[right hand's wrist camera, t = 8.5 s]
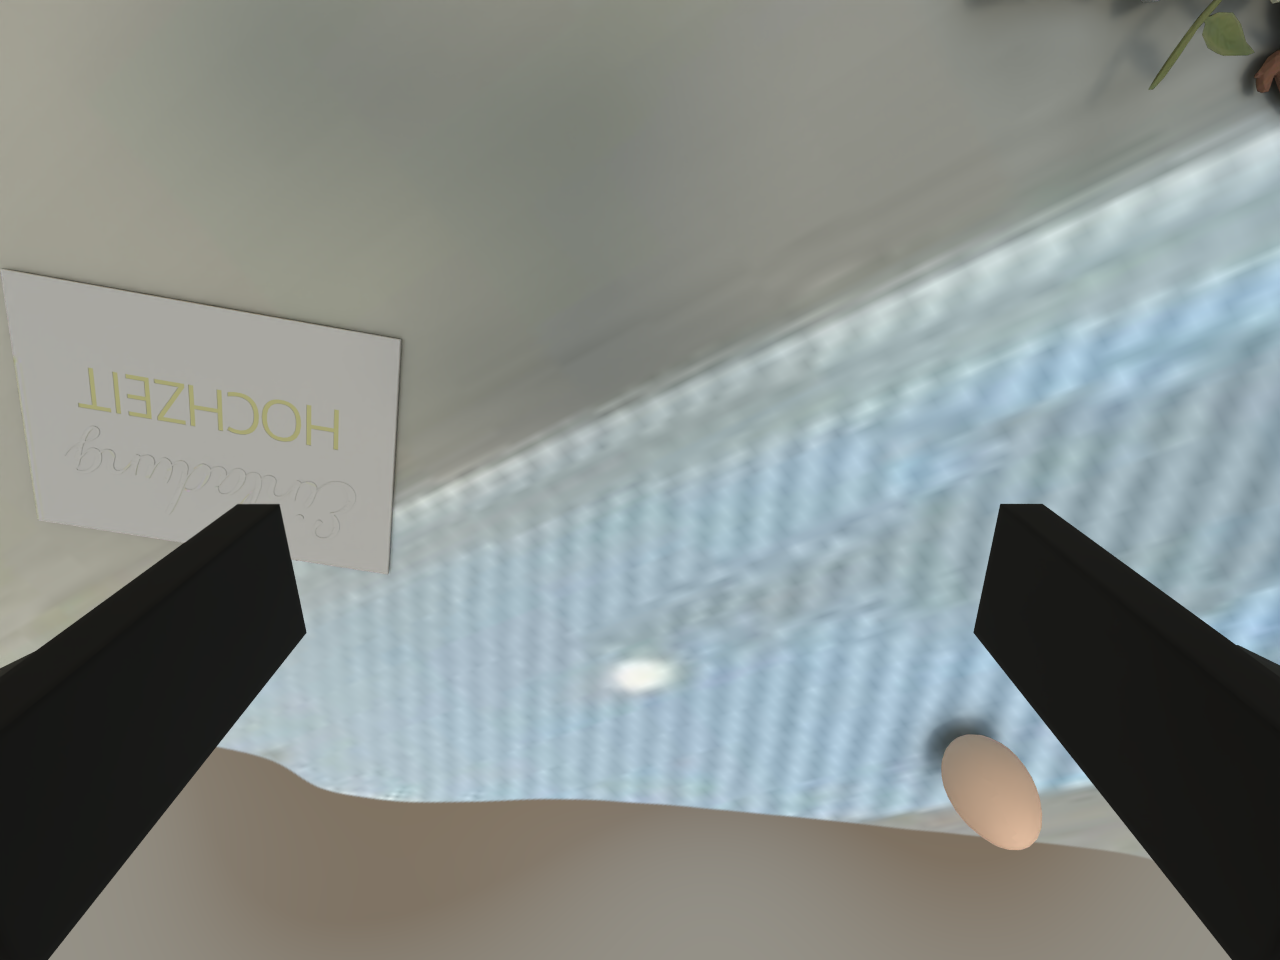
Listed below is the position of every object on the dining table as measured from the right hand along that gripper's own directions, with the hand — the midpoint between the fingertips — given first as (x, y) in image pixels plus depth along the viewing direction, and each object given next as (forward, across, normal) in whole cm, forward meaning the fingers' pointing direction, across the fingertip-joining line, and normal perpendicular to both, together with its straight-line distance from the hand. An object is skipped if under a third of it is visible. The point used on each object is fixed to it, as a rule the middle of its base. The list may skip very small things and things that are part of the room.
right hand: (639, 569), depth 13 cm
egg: (+27, +23, -29) cm, 46 cm away
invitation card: (+27, -25, -6) cm, 38 cm away
